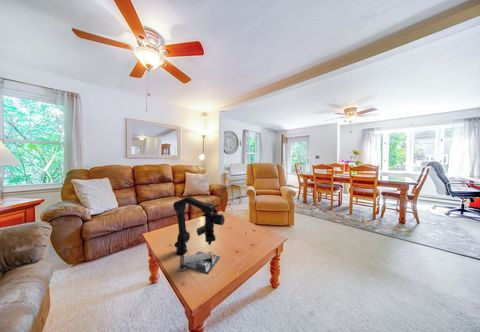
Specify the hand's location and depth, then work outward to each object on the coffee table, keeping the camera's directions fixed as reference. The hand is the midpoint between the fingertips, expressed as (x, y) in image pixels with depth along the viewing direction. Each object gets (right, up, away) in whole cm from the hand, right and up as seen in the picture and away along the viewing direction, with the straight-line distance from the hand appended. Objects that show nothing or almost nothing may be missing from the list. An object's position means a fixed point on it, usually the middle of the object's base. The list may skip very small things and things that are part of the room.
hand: (209, 244), depth 107 cm
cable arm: (-5, -7, -6) cm, 10 cm away
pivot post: (-16, -11, -8) cm, 21 cm away
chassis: (-4, -11, -2) cm, 12 cm away
